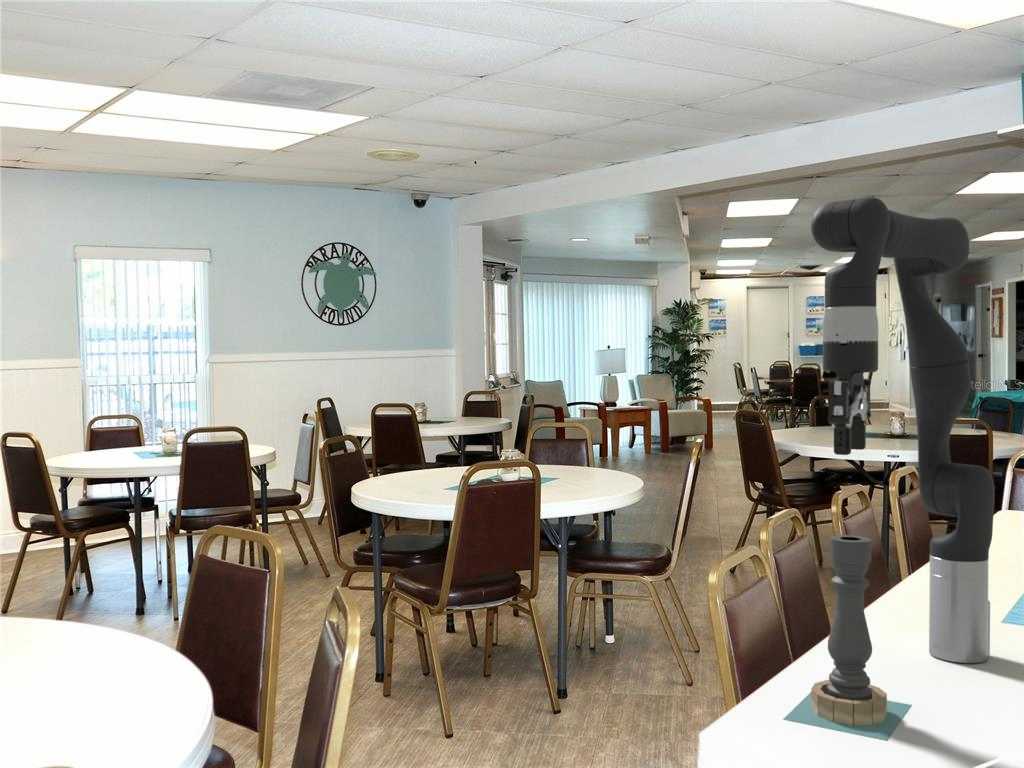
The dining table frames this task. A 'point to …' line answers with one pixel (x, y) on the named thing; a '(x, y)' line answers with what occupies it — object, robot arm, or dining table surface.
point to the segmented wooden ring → (849, 706)
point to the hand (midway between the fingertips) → (850, 451)
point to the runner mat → (877, 731)
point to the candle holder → (850, 619)
